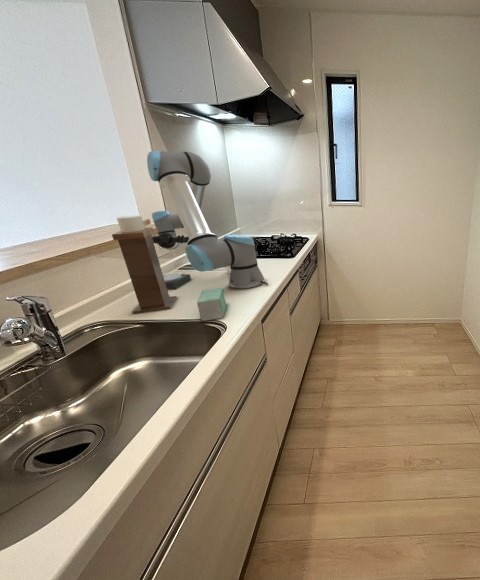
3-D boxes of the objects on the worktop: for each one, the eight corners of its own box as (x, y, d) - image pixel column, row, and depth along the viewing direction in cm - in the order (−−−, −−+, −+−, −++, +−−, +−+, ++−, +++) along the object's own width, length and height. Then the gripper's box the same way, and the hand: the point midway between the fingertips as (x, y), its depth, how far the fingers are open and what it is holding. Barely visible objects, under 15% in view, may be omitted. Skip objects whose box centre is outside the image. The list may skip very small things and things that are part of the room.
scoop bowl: (141, 231, 112) (137, 217, 110) (117, 233, 110) (113, 218, 108) (157, 223, 130) (154, 210, 128) (137, 224, 128) (133, 211, 126)
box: (226, 304, 125) (222, 286, 122) (224, 317, 113) (219, 299, 111) (206, 307, 123) (201, 289, 120) (201, 321, 111) (196, 302, 108)
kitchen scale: (191, 279, 154) (189, 272, 153) (175, 289, 142) (173, 281, 141) (164, 280, 154) (162, 273, 152) (146, 289, 142) (143, 282, 140)
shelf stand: (143, 302, 128) (119, 229, 117) (176, 297, 132) (157, 226, 121) (133, 314, 117) (106, 234, 107) (170, 308, 122) (147, 232, 111)
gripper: (197, 248, 159) (194, 247, 141) (135, 248, 148) (123, 246, 129) (196, 234, 159) (193, 230, 140) (134, 232, 147) (122, 228, 128)
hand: (159, 238), depth 134 cm, fingers open, 13 cm apart
